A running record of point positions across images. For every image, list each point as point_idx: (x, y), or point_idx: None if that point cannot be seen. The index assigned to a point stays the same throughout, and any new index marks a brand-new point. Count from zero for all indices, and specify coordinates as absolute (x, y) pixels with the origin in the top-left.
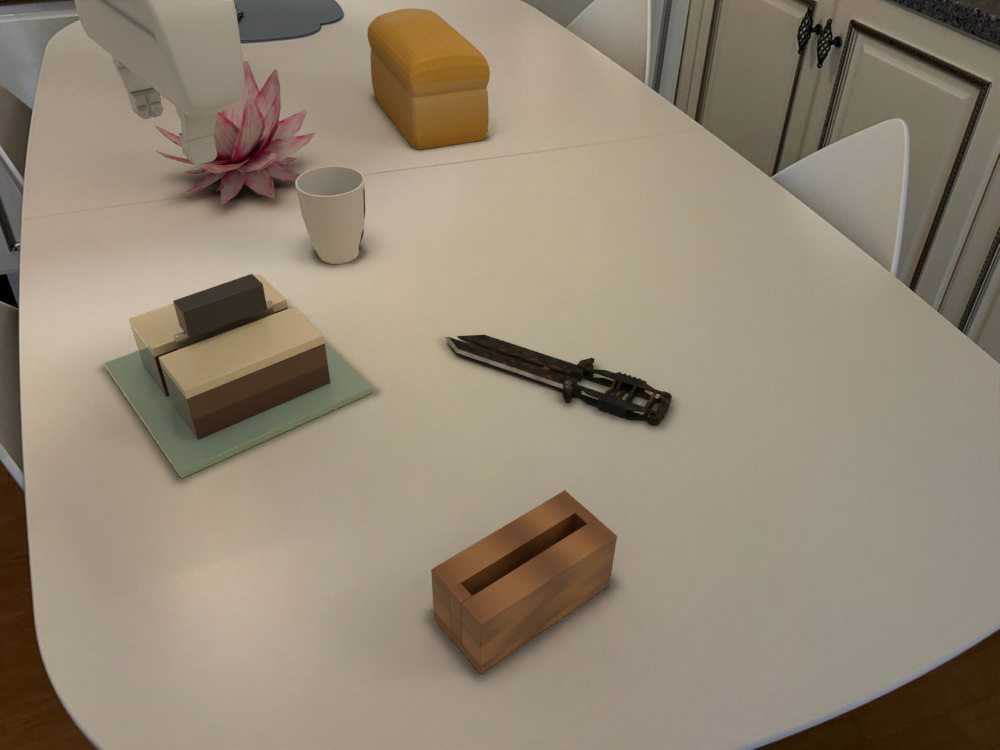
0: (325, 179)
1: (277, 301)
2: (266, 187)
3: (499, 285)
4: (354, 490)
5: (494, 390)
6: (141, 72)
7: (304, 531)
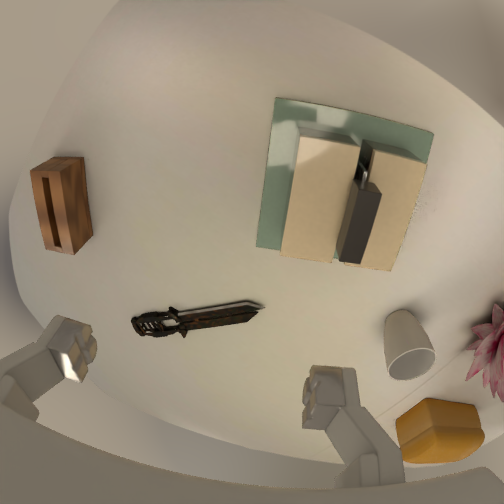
0: (425, 362)
1: None
2: (480, 330)
3: (285, 355)
4: (182, 178)
5: (204, 291)
6: (46, 455)
7: (172, 134)
